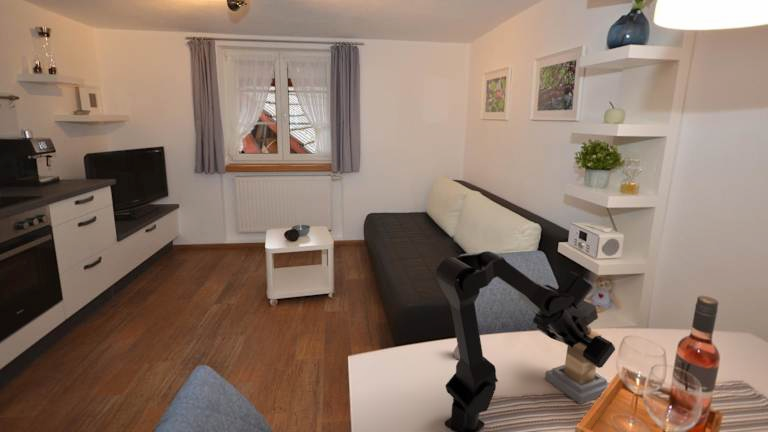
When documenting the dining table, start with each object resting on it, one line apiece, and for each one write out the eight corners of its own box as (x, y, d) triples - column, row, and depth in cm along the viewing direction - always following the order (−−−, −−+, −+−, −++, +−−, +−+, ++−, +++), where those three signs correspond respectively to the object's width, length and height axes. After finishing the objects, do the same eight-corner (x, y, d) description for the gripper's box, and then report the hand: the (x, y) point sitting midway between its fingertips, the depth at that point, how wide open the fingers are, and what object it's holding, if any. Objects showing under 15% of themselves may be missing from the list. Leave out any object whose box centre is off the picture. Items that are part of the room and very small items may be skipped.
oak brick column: (579, 386, 104) (587, 334, 101) (563, 375, 109) (570, 325, 105) (593, 381, 106) (602, 330, 103) (577, 370, 111) (584, 321, 107)
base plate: (580, 404, 101) (582, 392, 100) (545, 378, 110) (546, 367, 110) (611, 392, 105) (613, 381, 105) (574, 368, 115) (576, 357, 114)
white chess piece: (469, 361, 117) (471, 335, 115) (452, 359, 118) (454, 333, 116) (469, 353, 121) (471, 327, 119) (453, 351, 122) (455, 325, 120)
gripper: (616, 311, 92) (640, 346, 99) (550, 280, 108) (575, 311, 115) (586, 351, 90) (612, 383, 98) (523, 313, 107) (550, 343, 114)
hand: (586, 352), depth 106 cm, fingers open, 9 cm apart
